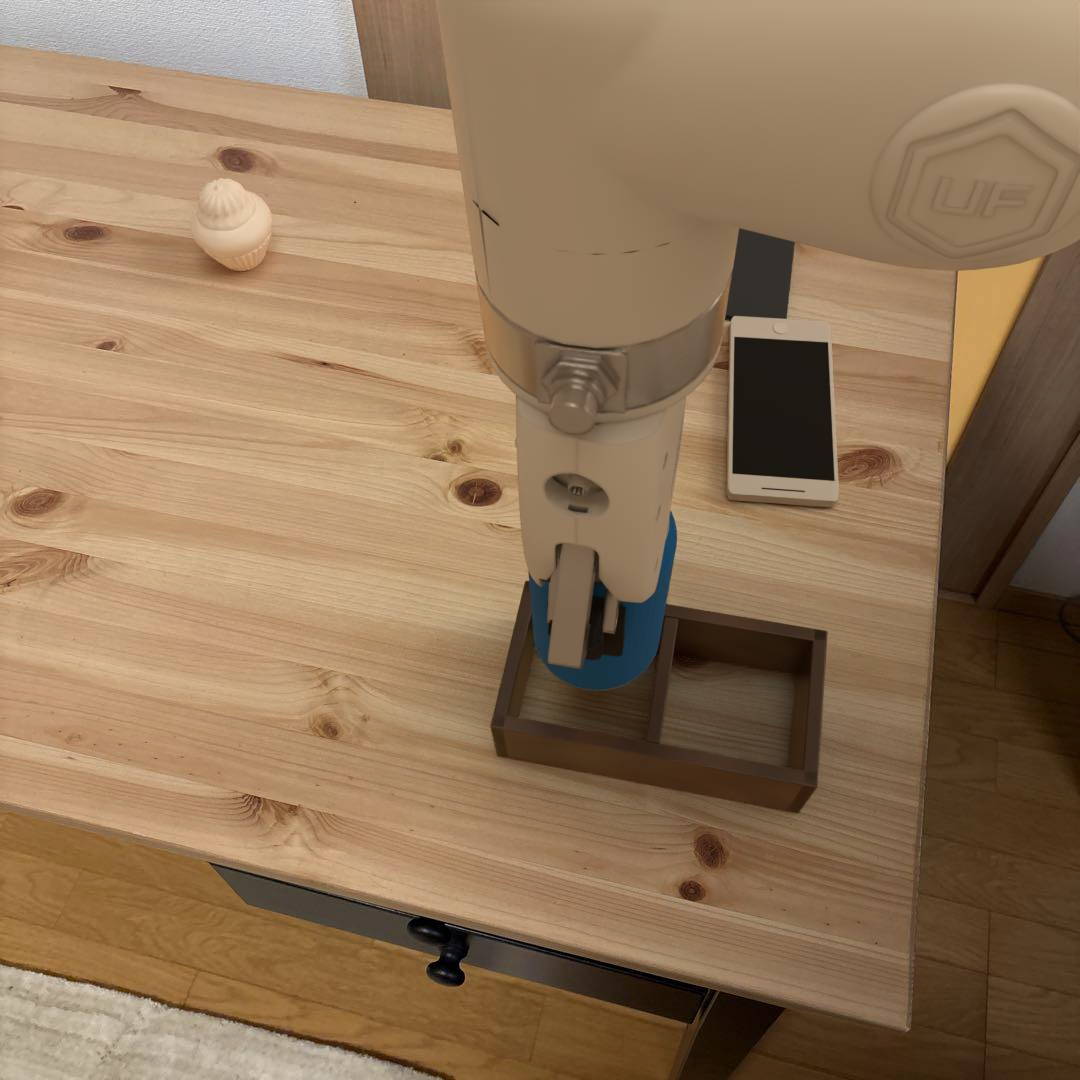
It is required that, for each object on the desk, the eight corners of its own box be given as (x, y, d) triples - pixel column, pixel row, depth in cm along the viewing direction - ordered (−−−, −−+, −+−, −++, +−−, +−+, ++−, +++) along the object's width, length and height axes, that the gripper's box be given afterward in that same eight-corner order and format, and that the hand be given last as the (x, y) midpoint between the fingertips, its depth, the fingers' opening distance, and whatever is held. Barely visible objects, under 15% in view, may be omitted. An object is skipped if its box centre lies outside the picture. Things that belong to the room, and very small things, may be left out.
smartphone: (828, 329, 73) (831, 320, 72) (836, 508, 65) (840, 500, 64) (729, 323, 73) (730, 314, 73) (726, 500, 66) (727, 492, 65)
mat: (798, 197, 80) (800, 192, 80) (784, 327, 73) (786, 322, 73) (625, 177, 82) (626, 172, 81) (596, 303, 75) (596, 298, 75)
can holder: (809, 665, 60) (828, 630, 56) (798, 813, 55) (817, 787, 51) (528, 617, 62) (525, 579, 58) (496, 756, 58) (490, 726, 53)
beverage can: (643, 573, 54) (660, 442, 43) (671, 684, 51) (697, 572, 40) (524, 593, 53) (513, 466, 43) (545, 706, 50) (538, 598, 40)
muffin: (219, 226, 80) (190, 153, 74) (292, 232, 80) (269, 159, 74) (194, 282, 77) (161, 210, 71) (270, 289, 77) (244, 218, 71)
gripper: (689, 559, 26) (655, 771, 41) (754, 123, 34) (705, 435, 50) (409, 517, 27) (478, 739, 42) (539, 104, 35) (557, 415, 51)
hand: (601, 573), depth 46 cm, fingers closed on beverage can, 6 cm apart
